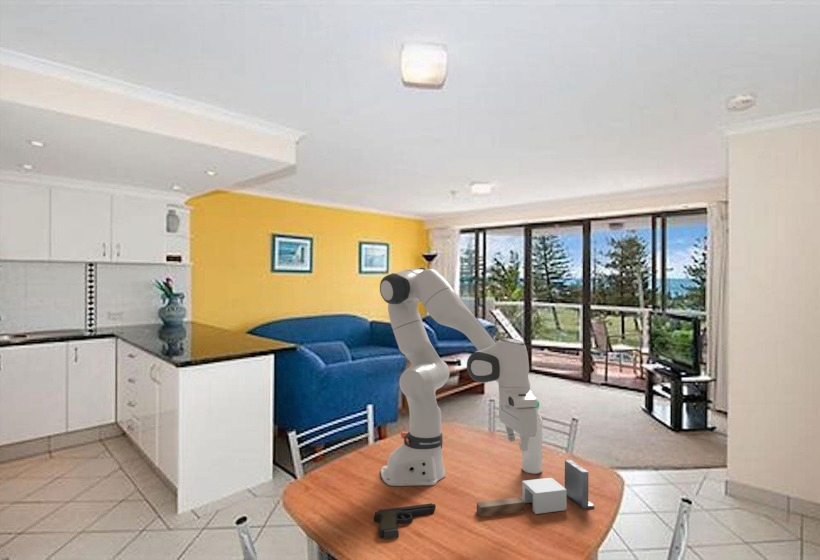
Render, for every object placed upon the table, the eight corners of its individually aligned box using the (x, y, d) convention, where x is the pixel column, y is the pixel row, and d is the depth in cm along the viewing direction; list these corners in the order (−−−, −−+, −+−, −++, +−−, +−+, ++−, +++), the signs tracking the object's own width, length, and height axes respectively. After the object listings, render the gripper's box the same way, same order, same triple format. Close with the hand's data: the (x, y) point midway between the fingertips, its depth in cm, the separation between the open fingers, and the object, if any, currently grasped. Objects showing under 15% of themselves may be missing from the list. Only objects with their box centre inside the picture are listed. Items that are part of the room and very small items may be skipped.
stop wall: (582, 509, 128) (582, 472, 128) (564, 494, 137) (564, 460, 137) (594, 507, 129) (594, 471, 129) (575, 493, 138) (575, 458, 138)
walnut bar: (480, 518, 124) (480, 507, 124) (476, 512, 127) (476, 502, 127) (525, 512, 127) (525, 501, 127) (520, 507, 130) (520, 496, 130)
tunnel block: (535, 514, 125) (535, 493, 125) (522, 500, 133) (522, 480, 133) (566, 509, 127) (566, 489, 127) (551, 496, 135) (551, 477, 135)
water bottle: (543, 475, 150) (543, 403, 150) (522, 473, 152) (522, 402, 152) (541, 467, 157) (541, 398, 157) (521, 465, 159) (521, 397, 159)
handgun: (448, 522, 117) (433, 500, 129) (380, 531, 112) (371, 507, 124) (448, 532, 117) (433, 509, 129) (379, 542, 112) (371, 517, 124)
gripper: (492, 390, 134) (494, 436, 132) (517, 402, 113) (520, 457, 112) (512, 389, 134) (514, 435, 133) (540, 401, 114) (543, 455, 113)
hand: (517, 445), depth 123 cm, fingers open, 8 cm apart
